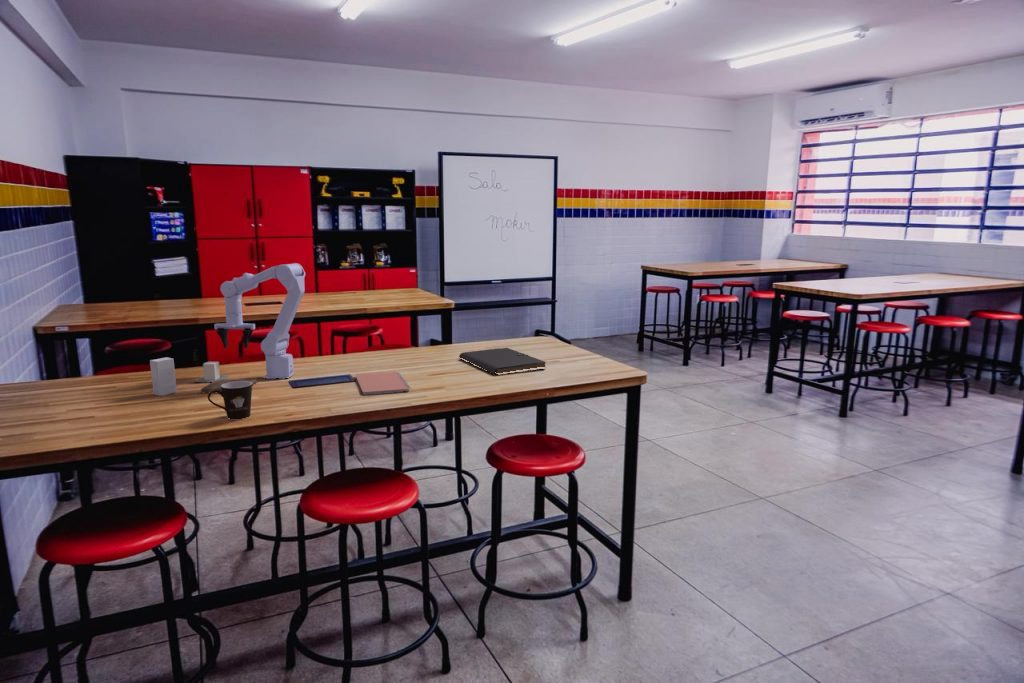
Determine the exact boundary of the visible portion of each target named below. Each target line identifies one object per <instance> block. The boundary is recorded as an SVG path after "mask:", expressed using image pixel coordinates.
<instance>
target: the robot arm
mask: <svg viewBox="0 0 1024 683" xmlns="http://www.w3.org/2000/svg"><path fill="white" fill-rule="evenodd" d="M305 277H306V272H305V270H304V268H303V266H302V265H301V264H300V263H297V262H293V263H287V264H279V265H275V266H271V267H270V268H267V269H265V270H263V271H261V272H258V273H255V274H252V273H248V272H244V273H242V276H240V277H239V276H238V277H233V278H232V280H230V281H229V280H226V281H224V282H222V284H220V292H221V294H222V296H224V297H223V298H224V307H225V308H224V309H225V310H224V311H225V320H226V322H225V323H215V324H213V326H214V330H217V331H216V334H217V335H218V337H219V339H220V340H221V343H222V345H223V348H224V349H227V348H229V340H228V338H229V335H228V334H229V330H242V335H243V336H242V337H243V344H244V345H243V347H244V349H248V348H249V347H250V345H249V344H250V340H251V337H252V336H253V332H254V330H255V329H256V323H247V322H246V323H245V322H244V320H243V306H242V299H243V297H242V296H243V293H246V292H248V291H251V290H253V289H257V287H258V285H259V284H260V283H263V282H266V281H268V280H271V279H276V280H278V281H279V282H280V283H281V284H282V286H283V287H284V288H285V289H286V291H287V294H286V297H285V299H284V301H283V304H282V306H281V309H280V310H279V312H278V315H277V319H276V321H275V323H274V325H273V328H272V329H271V330H270V331H269V332H268V333H267V334H266V337H265V338H264V339H262V341H261V343H260V349H261V351H262V352H263V353H264V356H265V367H266V370H265V371H266V375H264V376H263V377H262V379H263V378H264V379H265V378H266V380H267V379H272V380H273V379H274V380H276V378H279V379H281V380H283V379H284V380H285V378H288V379H290V378H291V377H292V376H293V375H295V372H294V371H295V370H294V357H293V354H291V353H286V352H287V349H288V347H289V344H290V343H289V341H290V337H291V336H290V334H289V330H290V328H291V326H292V324H293V321H294V319H295V316H296V314H297V312H298V309H299V307H300V305H301V302H302V300H303V297H304V294H305V291H306V290H305V288H306V287H305ZM289 377H290V378H289Z"/></svg>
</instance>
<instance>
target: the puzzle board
mask: <svg viewBox="0 0 1024 683" xmlns="http://www.w3.org/2000/svg"><path fill="white" fill-rule="evenodd" d="M234 381H249V382H252V387H254V386H255V385H257V384H256V383H257V379H225V380H222V379H217V380H215V381H214V382H212V383H208V384H207V385H205V386H204V387H202V388H201V393H202V392H212V391H215V390H216V391H220V392H222V389H221V385H222V384H224V383H228V382H234ZM254 384H255V385H254ZM253 385H254V386H253Z"/></svg>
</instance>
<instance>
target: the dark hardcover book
mask: <svg viewBox="0 0 1024 683" xmlns="http://www.w3.org/2000/svg"><path fill="white" fill-rule="evenodd" d="M459 357H460V358H463V359H465V360H467V361H469V362H471V363H473V364H475V365H477V366H479V367H481V368H483V369H485V370H487V371H489V372H491V373H493V374H495V372H496V373H503V372H510V371H516V370H523V369H530V368H537V367H545V368H546V361H544V360H542V359H539V358H536V357H535V356H534V357H533V356H530V355H528V354H526V353H523V352H520V351H517V350H514V349H512V348H509V347H503V348H498V347H497V348H490V349H482V350H475V351H473V350H471V351H465V352H464V351H463V352H461V353H460V354H459V356H458V358H459ZM460 358H459V359H460ZM487 371H486V372H487ZM489 372H488V373H489ZM491 373H490V374H491ZM493 374H492V375H493ZM495 375H496V374H495Z"/></svg>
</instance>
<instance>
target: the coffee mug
mask: <svg viewBox="0 0 1024 683" xmlns="http://www.w3.org/2000/svg"><path fill="white" fill-rule="evenodd" d="M221 389H222V392H220V391H216V390H215V391H212V392H210V393H207V399H208V401H209V403H211V404H212V405H213V406H216V407H218V408H221V409H223V410H224V411H225V413H226V417H228V418H230V419H229V420H231V419H239V420H243V419H242V418H245V419H247V418H246V417H248V418H250V417H249V416H251V409H252V408H251V407H252V395H253V394H252V391H253V386H252V382H249V381H234V382H228V383H224V384H222V385H221ZM215 392H217V393H215ZM212 394H219V395H220V396H221V397H222V398H223V402H224V406H222V405H220V404H217V403H215V402H213V400H211V395H212ZM228 418H227V419H228Z"/></svg>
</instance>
